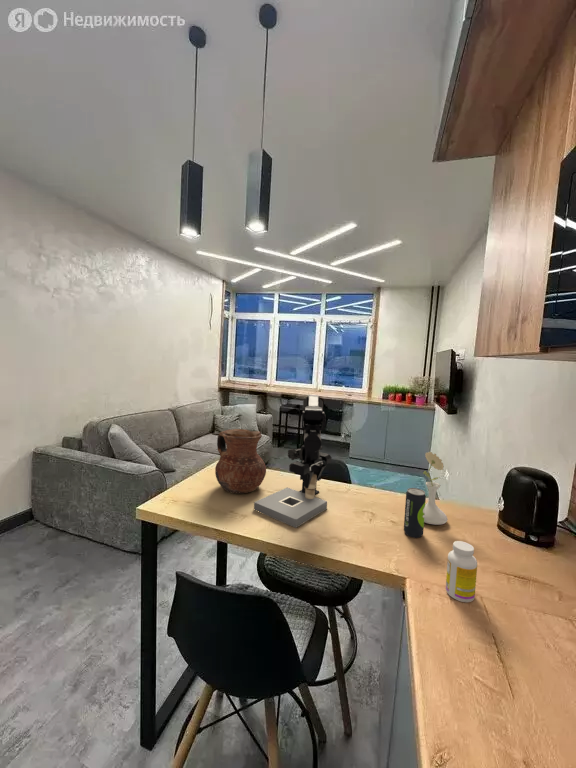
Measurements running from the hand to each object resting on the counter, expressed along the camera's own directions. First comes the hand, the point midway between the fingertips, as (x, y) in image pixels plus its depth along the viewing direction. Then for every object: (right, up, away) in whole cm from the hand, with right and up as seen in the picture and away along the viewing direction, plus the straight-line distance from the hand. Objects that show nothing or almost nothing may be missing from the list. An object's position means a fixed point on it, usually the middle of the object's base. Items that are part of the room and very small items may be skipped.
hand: (310, 486), depth 121 cm
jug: (-29, -10, +28) cm, 41 cm away
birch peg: (0, -4, 0) cm, 4 cm away
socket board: (-7, -12, +9) cm, 16 cm away
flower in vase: (+45, -14, +5) cm, 47 cm away
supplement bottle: (+36, -17, -35) cm, 53 cm away
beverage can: (+35, -15, -6) cm, 38 cm away
